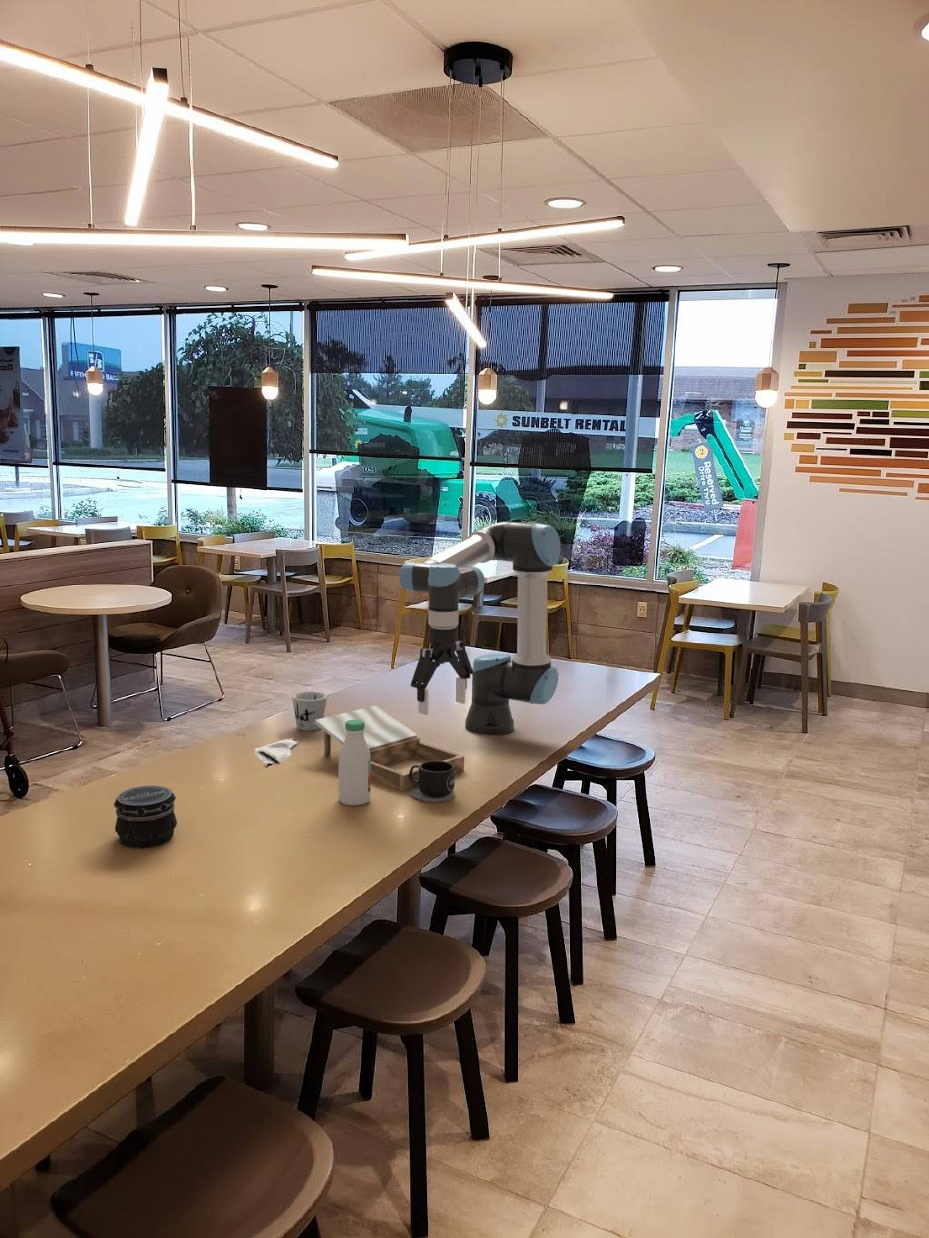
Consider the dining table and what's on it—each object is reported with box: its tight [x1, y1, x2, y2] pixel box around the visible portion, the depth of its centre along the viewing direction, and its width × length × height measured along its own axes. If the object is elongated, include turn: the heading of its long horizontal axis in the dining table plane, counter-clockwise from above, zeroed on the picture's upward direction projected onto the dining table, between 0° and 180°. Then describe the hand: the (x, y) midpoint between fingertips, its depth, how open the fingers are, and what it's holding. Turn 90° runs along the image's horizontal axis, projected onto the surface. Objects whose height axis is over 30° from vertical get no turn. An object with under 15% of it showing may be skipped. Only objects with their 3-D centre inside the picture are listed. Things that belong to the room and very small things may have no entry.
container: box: [113, 784, 178, 849], centre depth 202 cm, size 13×13×10 cm
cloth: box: [253, 737, 299, 768], centre depth 261 cm, size 26×14×2 cm, turn 163°
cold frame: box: [314, 705, 465, 792], centre depth 254 cm, size 22×36×10 cm, turn 47°
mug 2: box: [408, 760, 456, 797], centre depth 232 cm, size 12×9×7 cm
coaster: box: [410, 786, 456, 803], centre depth 233 cm, size 11×11×1 cm
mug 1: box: [291, 691, 328, 732], centre depth 286 cm, size 10×15×10 cm
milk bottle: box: [337, 720, 371, 807], centre depth 225 cm, size 8×8×20 cm
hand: (442, 708), depth 236 cm, fingers open, 13 cm apart
